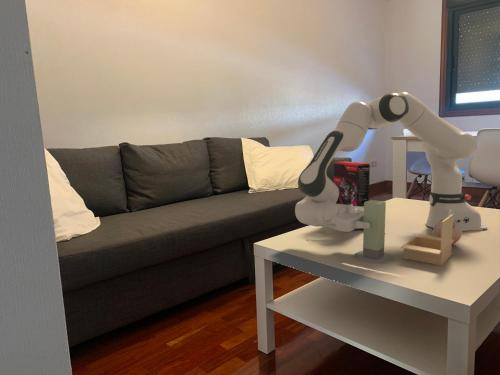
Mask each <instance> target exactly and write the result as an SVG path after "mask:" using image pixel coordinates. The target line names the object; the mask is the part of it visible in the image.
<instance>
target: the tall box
mask: <svg viewBox="0 0 500 375" xmlns="http://www.w3.org/2000/svg"><path fill="white" fill-rule="evenodd" d="M386 204H387V201H383V200H374V199H369V201H366V202H364V222H371V228H369V229H367V228H364V229H363V233H362V234H363V238H362V243H363V244H362V251H363V257H367V258H372V259H377V260H378V259H380V258H381V257H383V256H384V252H385V238H386V234H385V233H386V231H385V230H386V211H387V210H386V207H387V205H386Z"/></svg>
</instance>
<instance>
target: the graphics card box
mask: <svg viewBox="0 0 500 375" xmlns="http://www.w3.org/2000/svg"><path fill="white" fill-rule="evenodd" d="M370 168H371V164H370V163H366V162H358V161H357V162H356V161H348V160H340V161H339V160H338V161H335V162H333V182H334V183H335V184H336V186H337V187H338V189H339V197H338V200H337V202H336V204H353V206H359V207H364V202H366V201H369V200H370V174H371V173H370V171H371V169H370ZM355 230H357V231H358V230H364V228H358V229H357V228H356V229H355Z"/></svg>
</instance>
